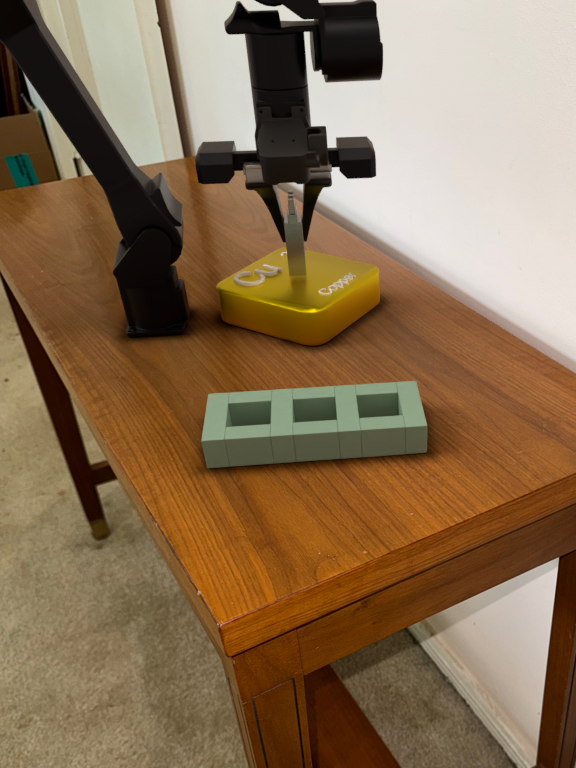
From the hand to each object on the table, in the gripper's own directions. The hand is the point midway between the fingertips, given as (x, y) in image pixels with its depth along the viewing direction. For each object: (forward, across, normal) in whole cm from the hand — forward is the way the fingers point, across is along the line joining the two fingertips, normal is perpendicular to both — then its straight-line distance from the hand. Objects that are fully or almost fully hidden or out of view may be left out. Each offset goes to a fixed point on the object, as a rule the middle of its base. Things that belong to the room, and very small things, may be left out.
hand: (294, 240), depth 87 cm
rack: (+8, +1, -28) cm, 29 cm away
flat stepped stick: (+4, 0, 0) cm, 4 cm away
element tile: (+9, 0, 0) cm, 9 cm away
